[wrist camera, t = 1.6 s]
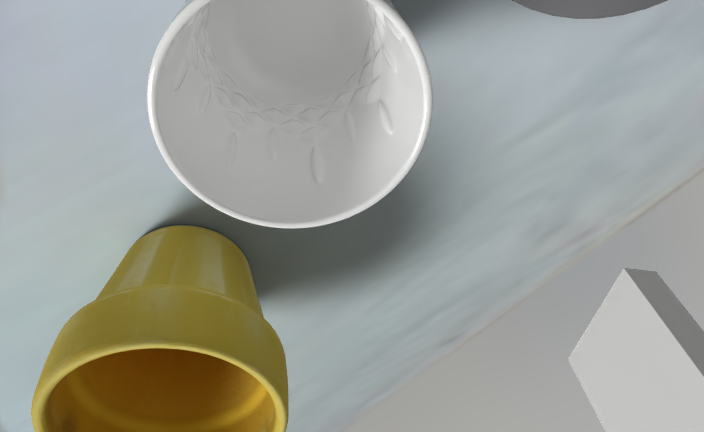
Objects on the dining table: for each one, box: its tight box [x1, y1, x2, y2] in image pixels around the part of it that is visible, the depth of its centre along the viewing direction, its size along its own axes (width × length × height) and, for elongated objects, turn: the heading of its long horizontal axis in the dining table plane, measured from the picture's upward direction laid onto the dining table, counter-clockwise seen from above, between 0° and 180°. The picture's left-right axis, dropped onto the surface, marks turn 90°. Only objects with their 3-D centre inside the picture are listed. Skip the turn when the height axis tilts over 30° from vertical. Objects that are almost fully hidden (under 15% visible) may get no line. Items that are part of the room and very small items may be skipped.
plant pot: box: [31, 225, 288, 432], centre depth 28 cm, size 10×10×10 cm
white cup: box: [147, 0, 433, 228], centre depth 21 cm, size 8×8×10 cm
